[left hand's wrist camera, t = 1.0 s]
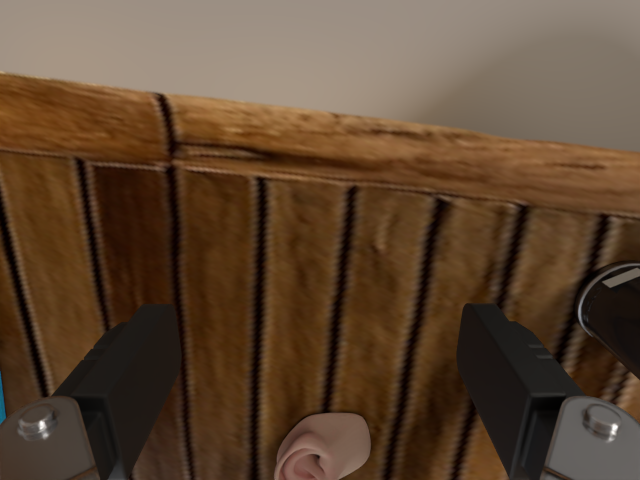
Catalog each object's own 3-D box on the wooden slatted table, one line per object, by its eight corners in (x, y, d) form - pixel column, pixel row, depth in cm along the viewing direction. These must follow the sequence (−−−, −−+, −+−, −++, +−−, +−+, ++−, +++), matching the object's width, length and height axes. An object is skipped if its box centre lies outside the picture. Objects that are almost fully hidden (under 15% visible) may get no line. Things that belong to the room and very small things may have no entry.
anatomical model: (356, 424, 45) (394, 490, 49) (352, 398, 49) (389, 461, 52) (249, 464, 47) (295, 525, 51) (254, 436, 51) (296, 494, 54)
